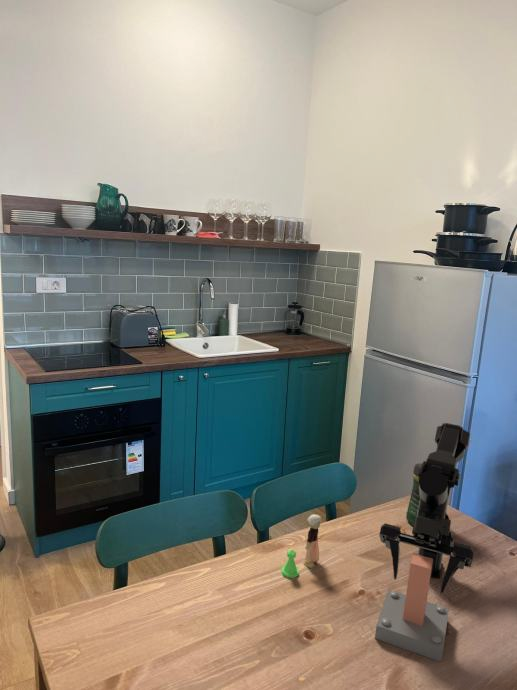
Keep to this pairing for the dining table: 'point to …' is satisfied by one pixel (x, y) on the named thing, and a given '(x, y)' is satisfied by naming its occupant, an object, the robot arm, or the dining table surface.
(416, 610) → the pillar brick
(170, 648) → the dining table surface
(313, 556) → the grandmother figurine
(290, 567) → the game piece
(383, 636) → the base brick
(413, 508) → the coffee jar
